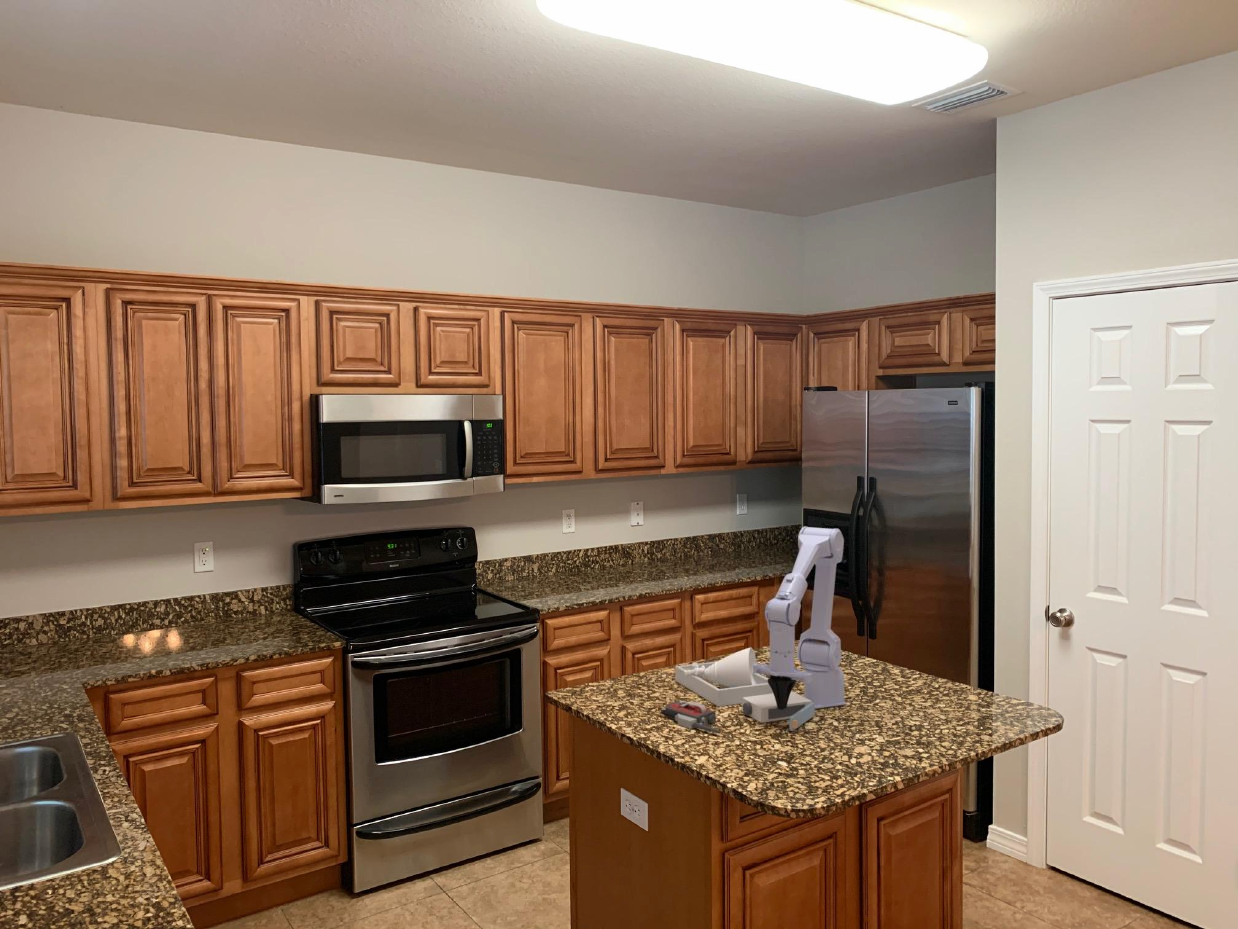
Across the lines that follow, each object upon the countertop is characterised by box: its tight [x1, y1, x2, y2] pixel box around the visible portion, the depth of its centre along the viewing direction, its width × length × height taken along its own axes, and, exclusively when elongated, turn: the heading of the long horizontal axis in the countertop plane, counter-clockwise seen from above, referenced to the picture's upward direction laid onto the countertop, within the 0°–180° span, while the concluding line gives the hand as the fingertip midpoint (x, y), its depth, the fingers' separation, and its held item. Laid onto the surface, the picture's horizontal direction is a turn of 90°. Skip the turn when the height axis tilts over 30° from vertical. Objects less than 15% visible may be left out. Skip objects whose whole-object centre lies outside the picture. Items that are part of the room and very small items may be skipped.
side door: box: [788, 702, 816, 732], centre depth 218 cm, size 13×2×3 cm, turn 146°
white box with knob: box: [741, 691, 812, 724], centre depth 226 cm, size 15×9×4 cm, turn 112°
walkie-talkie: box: [659, 700, 721, 734], centre depth 220 cm, size 9×4×20 cm
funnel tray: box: [674, 661, 773, 707], centre depth 247 cm, size 17×25×4 cm
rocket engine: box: [684, 647, 758, 688], centre depth 245 cm, size 12×12×18 cm
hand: (782, 708), depth 218 cm, fingers closed
